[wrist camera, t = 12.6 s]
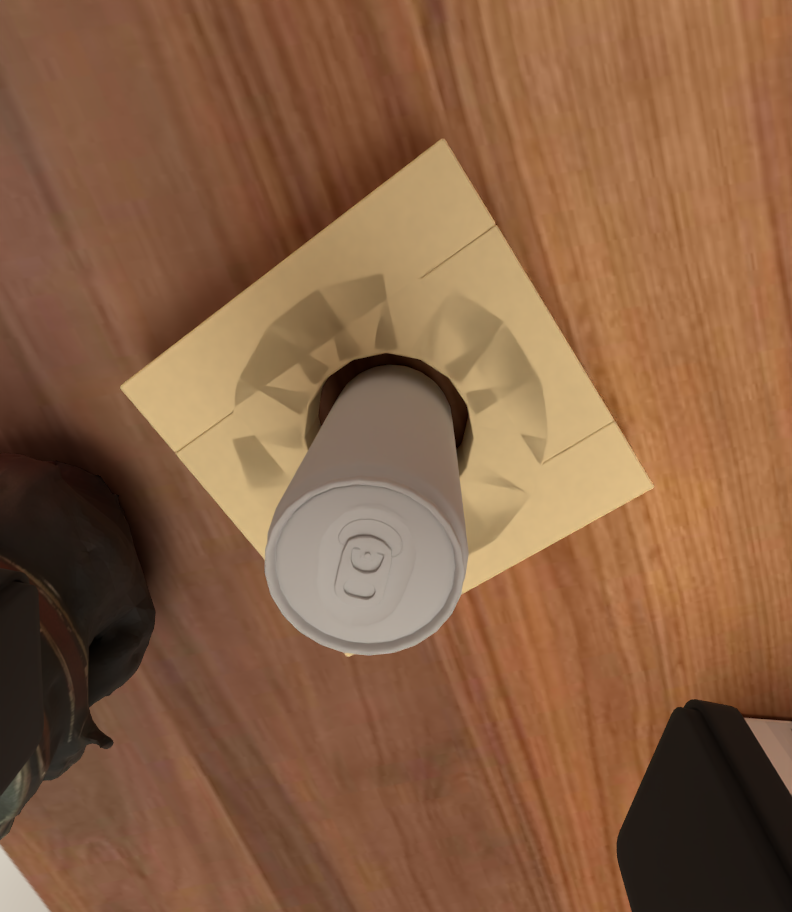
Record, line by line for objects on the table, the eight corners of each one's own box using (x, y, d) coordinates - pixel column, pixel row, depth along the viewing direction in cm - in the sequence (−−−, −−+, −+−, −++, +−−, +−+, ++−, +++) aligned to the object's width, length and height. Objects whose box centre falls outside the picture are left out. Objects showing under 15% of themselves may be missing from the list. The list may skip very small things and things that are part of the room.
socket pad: (153, 369, 25) (117, 387, 22) (442, 148, 22) (443, 136, 19) (355, 616, 28) (347, 658, 26) (630, 459, 25) (655, 487, 22)
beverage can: (465, 377, 24) (497, 501, 13) (435, 485, 26) (441, 679, 15) (347, 348, 24) (275, 450, 13) (324, 460, 26) (243, 636, 15)
